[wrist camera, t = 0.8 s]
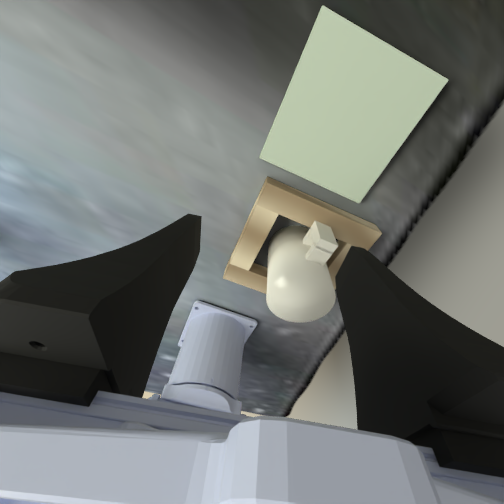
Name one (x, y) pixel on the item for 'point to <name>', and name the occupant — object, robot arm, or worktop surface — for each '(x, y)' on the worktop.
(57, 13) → the worktop surface
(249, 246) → the collar
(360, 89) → the sage board
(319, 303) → the jug
